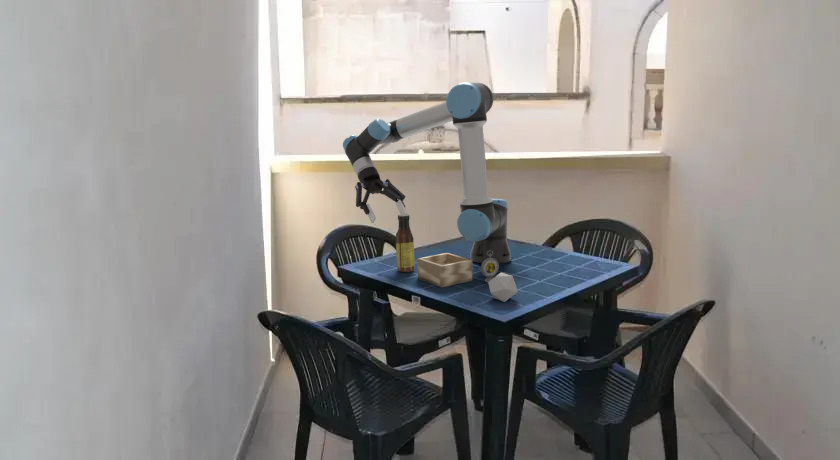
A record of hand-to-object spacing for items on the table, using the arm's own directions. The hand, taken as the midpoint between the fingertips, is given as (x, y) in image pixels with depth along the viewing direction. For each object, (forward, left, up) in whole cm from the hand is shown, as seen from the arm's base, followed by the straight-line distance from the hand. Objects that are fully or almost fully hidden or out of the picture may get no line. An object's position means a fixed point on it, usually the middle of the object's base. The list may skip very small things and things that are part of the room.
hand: (390, 218), depth 240 cm
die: (-34, +40, -18) cm, 56 cm away
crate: (-18, +18, -17) cm, 31 cm away
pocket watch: (-34, +22, -18) cm, 44 cm away
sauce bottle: (-5, +6, -18) cm, 20 cm away
